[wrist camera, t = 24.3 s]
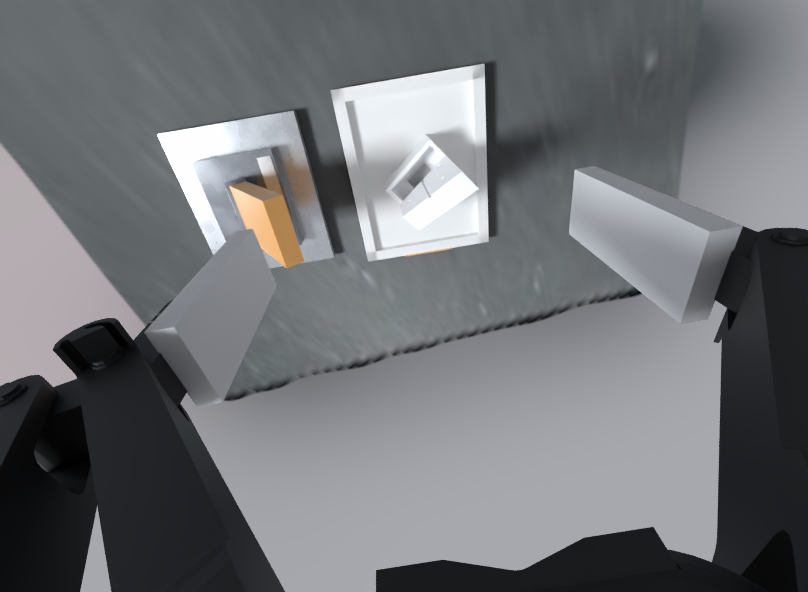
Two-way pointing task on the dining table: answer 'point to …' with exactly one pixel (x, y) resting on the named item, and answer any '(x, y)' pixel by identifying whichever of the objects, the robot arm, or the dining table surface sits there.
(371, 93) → the tray
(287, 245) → the block
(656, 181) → the dining table surface
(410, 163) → the white wedge bracket
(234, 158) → the panel
